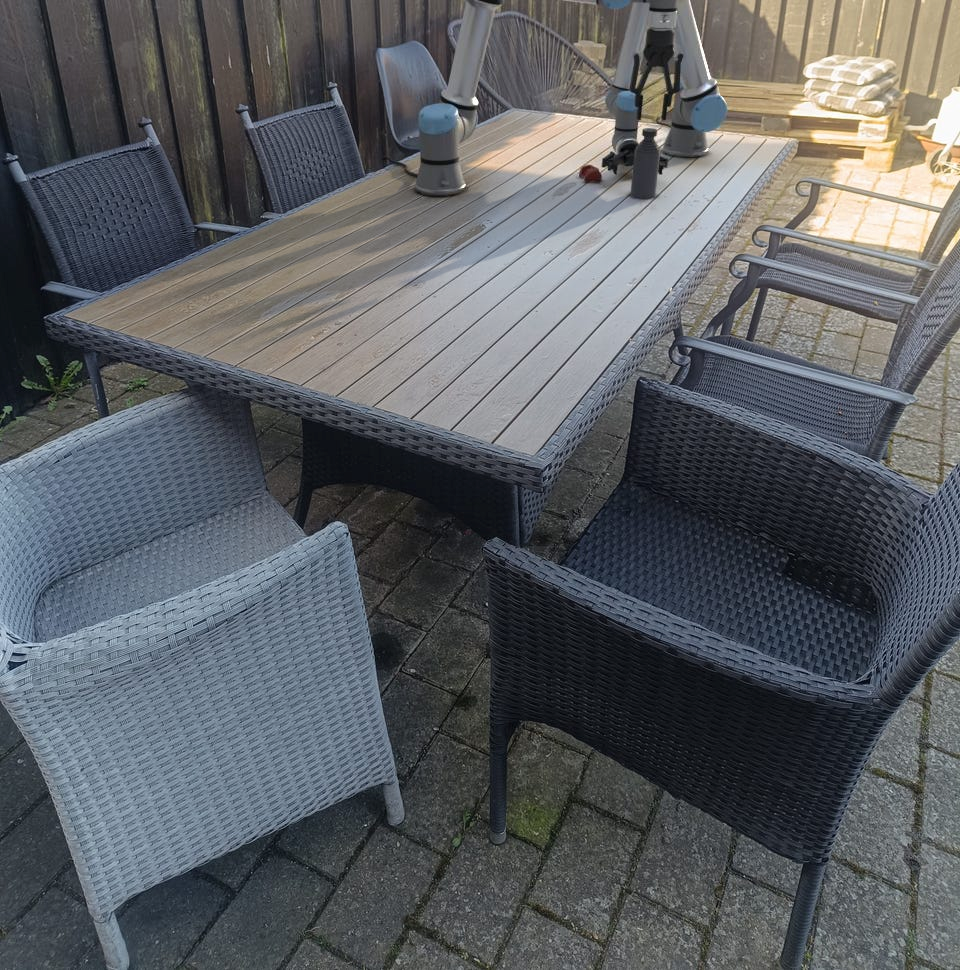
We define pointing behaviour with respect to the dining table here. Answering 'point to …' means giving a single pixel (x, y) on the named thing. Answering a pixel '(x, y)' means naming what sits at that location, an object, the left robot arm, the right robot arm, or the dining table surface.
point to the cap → (649, 132)
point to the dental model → (590, 173)
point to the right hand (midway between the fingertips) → (638, 170)
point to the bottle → (645, 169)
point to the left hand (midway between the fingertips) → (651, 119)
